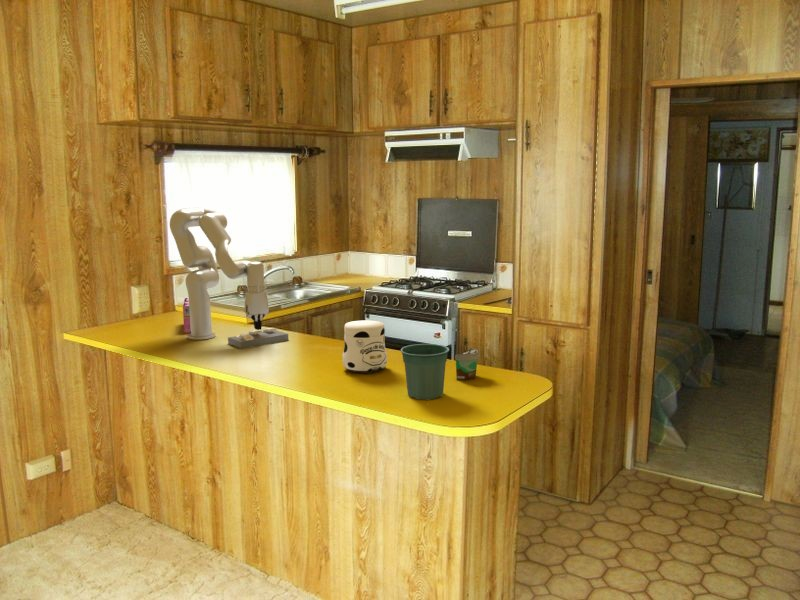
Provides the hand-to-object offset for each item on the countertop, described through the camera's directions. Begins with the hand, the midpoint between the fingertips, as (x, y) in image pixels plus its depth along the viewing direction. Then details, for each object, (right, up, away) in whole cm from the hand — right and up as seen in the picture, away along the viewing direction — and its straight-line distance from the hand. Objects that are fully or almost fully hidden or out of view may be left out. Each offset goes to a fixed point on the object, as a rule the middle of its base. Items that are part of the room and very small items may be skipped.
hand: (258, 329), depth 322 cm
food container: (+90, -16, -59) cm, 109 cm away
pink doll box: (-39, -1, +32) cm, 50 cm away
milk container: (+51, -14, -46) cm, 70 cm away
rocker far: (+4, -1, +7) cm, 8 cm away
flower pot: (+73, -19, -78) cm, 108 cm away
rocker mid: (-2, -1, +2) cm, 3 cm away
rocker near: (-4, -3, -7) cm, 8 cm away
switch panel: (0, -6, +1) cm, 6 cm away
